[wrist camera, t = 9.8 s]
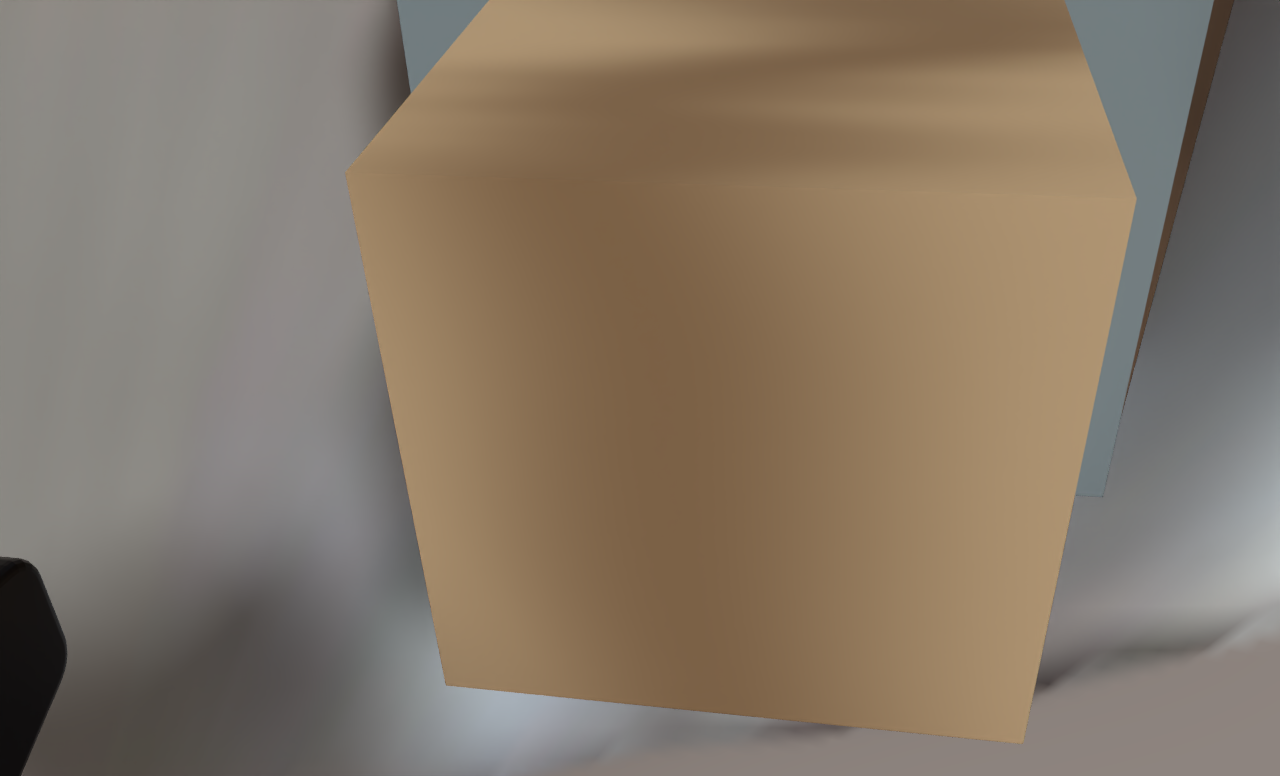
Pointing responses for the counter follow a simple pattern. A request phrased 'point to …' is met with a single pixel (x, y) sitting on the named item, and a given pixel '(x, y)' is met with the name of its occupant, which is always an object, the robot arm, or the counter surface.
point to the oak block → (748, 348)
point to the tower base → (1189, 140)
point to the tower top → (1137, 113)
